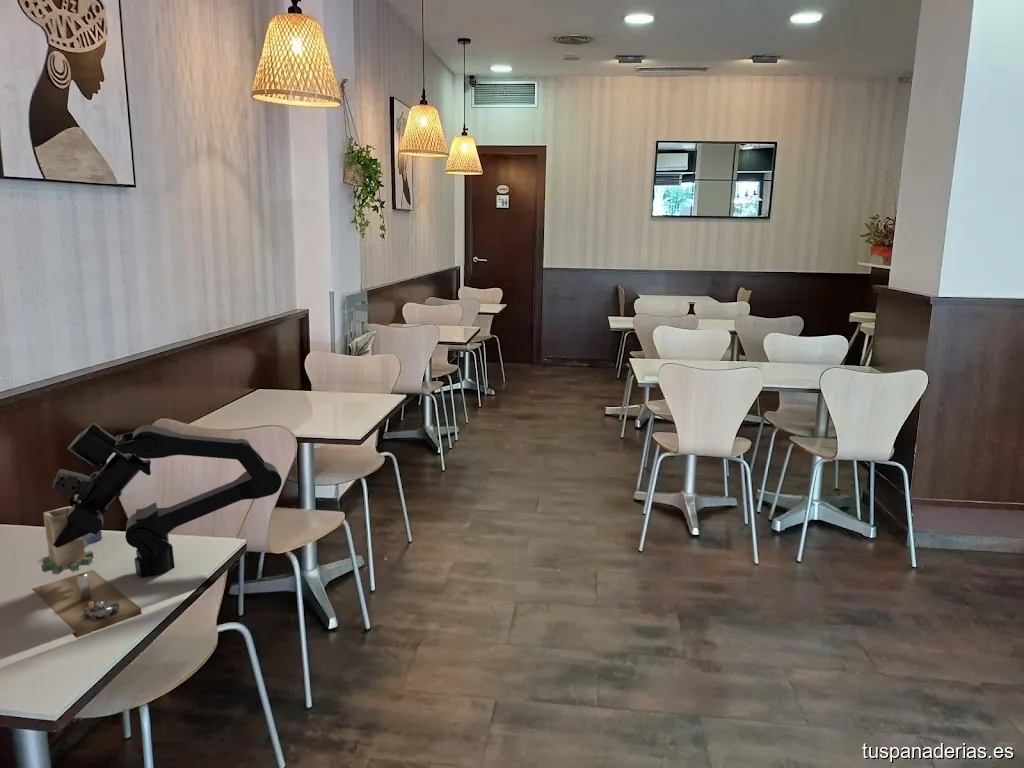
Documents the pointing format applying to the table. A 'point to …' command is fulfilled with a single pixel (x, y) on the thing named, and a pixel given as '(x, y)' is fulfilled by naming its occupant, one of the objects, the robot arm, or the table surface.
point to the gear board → (85, 602)
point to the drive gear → (100, 610)
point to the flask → (91, 538)
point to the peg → (84, 587)
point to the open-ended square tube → (68, 553)
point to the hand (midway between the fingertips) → (56, 540)
